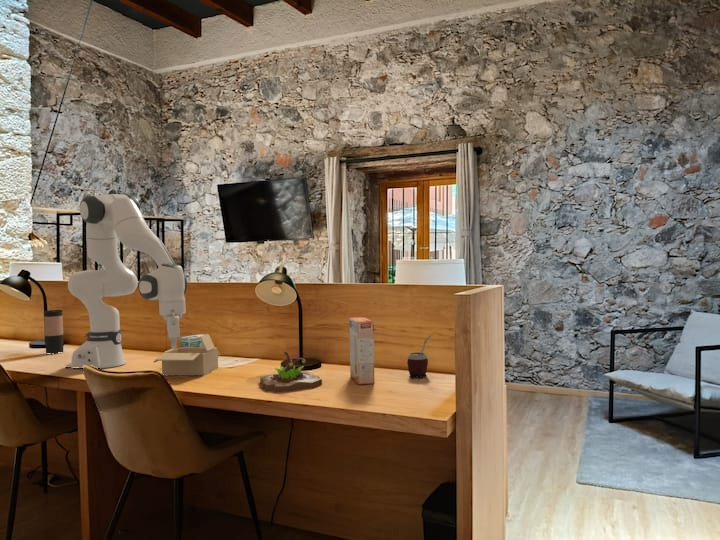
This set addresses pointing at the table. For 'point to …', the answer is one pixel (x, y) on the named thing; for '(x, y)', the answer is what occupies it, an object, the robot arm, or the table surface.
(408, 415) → the table surface
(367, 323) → the cracker box
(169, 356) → the flap
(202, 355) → the carton
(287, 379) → the plant
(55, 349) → the travel mug
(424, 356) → the mate gourd
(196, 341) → the light bulb box
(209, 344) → the flap
